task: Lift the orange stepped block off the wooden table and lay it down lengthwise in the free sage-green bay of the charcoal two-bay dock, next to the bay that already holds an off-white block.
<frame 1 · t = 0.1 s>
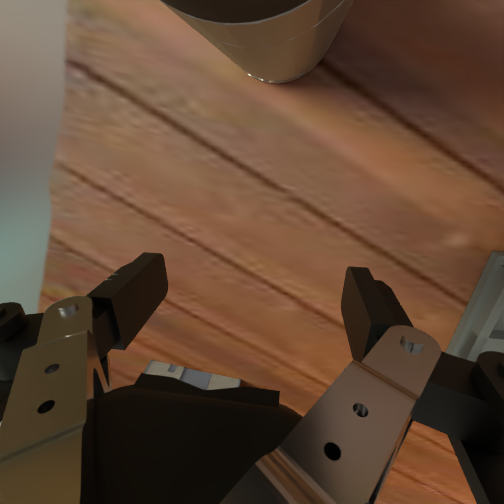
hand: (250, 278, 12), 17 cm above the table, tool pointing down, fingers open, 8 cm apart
warehouse: (194, 420, 49), on the table
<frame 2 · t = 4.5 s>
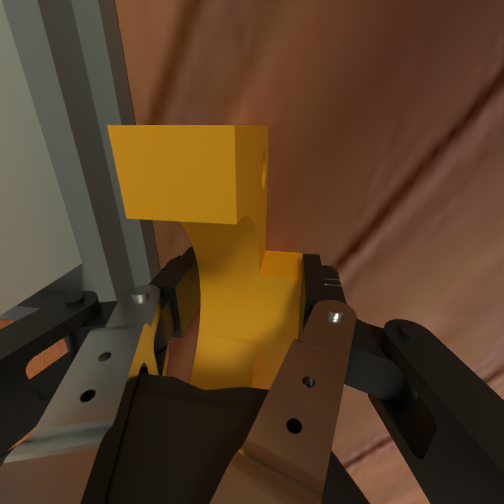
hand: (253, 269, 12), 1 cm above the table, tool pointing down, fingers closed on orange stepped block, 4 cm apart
orange stepped block: (257, 256, 14), on the table, touching gripper
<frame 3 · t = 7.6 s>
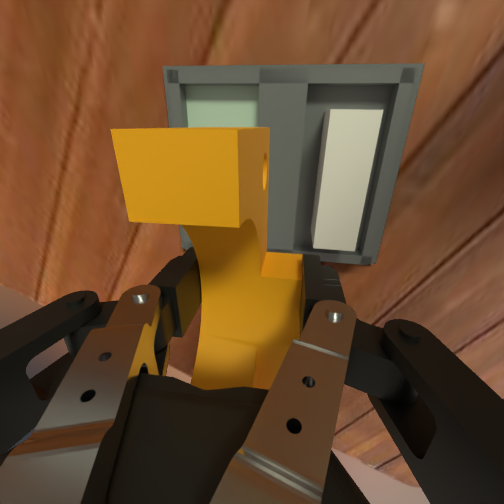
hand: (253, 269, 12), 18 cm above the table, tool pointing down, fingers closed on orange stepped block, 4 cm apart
dock: (279, 172, 27), on the table
orange stepped block: (258, 257, 14), point 16 cm above the table, touching gripper
when the fingers open (3 cm above the table, at t = 10.9 s): orange stepped block drops 1 cm, resting on dock.
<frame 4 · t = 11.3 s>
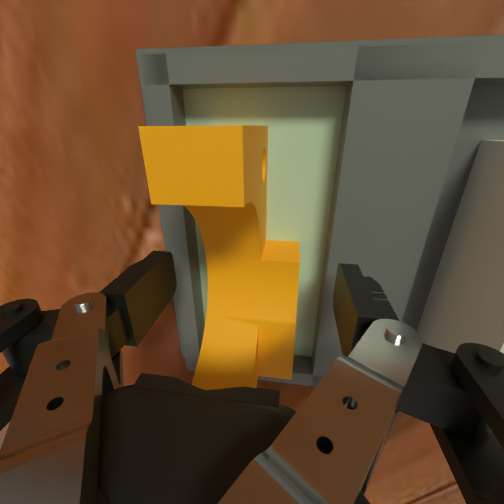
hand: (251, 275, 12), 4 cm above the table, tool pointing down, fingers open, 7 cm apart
dock: (360, 245, 15), on the table
orange stepped block: (258, 245, 15), point 1 cm above the table, touching dock
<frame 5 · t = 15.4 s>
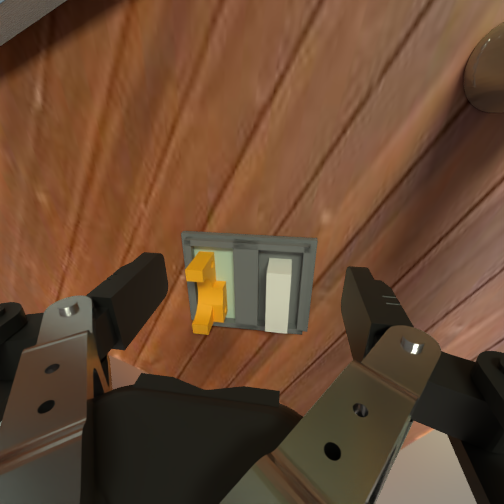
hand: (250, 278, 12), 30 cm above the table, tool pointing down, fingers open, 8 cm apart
dock: (248, 281, 47), on the table
orange stepped block: (214, 282, 47), point 1 cm above the table, touching dock
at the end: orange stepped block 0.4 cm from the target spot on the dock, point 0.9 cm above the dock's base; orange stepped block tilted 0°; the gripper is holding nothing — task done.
